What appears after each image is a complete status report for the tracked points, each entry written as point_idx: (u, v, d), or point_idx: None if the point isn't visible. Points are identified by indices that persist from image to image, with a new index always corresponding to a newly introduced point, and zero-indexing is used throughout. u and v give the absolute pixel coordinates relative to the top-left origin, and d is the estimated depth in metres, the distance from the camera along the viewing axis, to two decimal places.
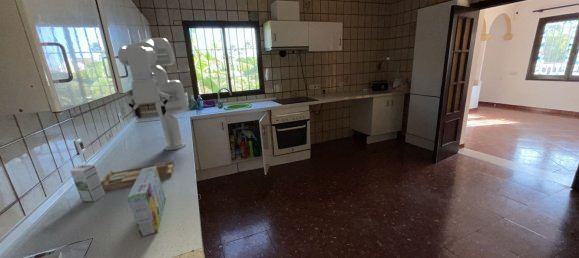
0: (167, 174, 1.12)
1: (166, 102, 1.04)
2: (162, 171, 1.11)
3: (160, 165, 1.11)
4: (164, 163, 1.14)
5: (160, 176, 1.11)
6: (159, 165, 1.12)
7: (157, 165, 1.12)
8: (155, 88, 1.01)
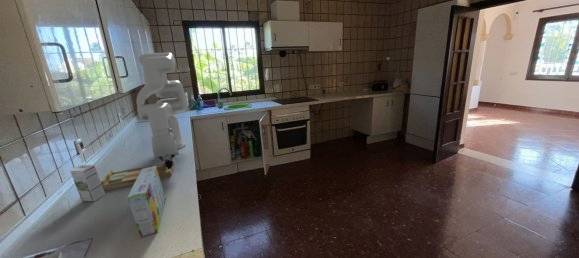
0: (167, 174, 1.12)
1: (173, 157, 1.13)
2: (160, 171, 1.11)
3: (158, 166, 1.11)
4: (162, 163, 1.13)
5: (160, 176, 1.11)
6: (157, 165, 1.12)
7: (155, 165, 1.12)
8: (173, 142, 1.10)
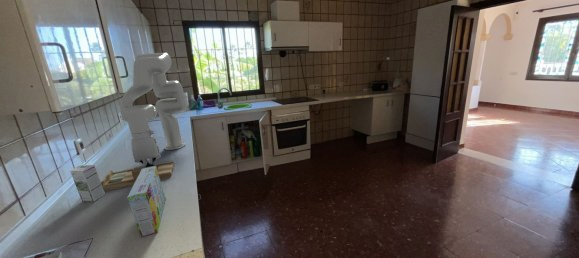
0: (167, 174, 1.12)
1: (154, 160, 1.10)
2: None
3: (138, 170, 1.08)
4: (143, 167, 1.11)
5: (160, 176, 1.11)
6: (138, 169, 1.09)
7: (135, 169, 1.09)
8: (153, 145, 1.07)
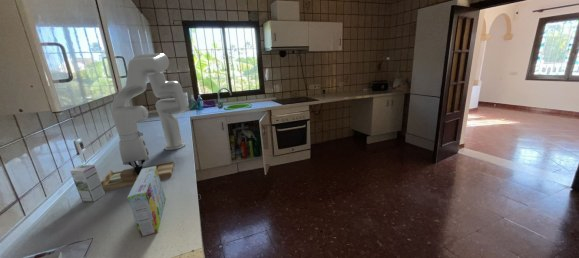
0: (167, 174, 1.12)
1: (143, 162, 1.09)
2: (129, 178, 1.07)
3: (127, 172, 1.07)
4: (132, 169, 1.09)
5: (160, 176, 1.11)
6: (126, 171, 1.08)
7: (124, 171, 1.08)
8: (142, 147, 1.06)
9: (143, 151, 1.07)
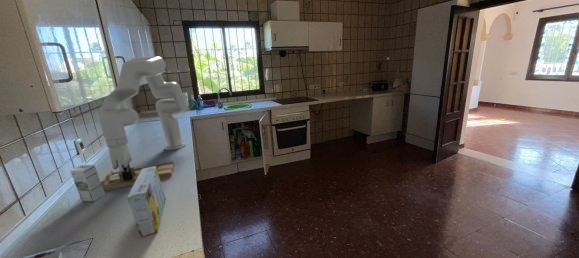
0: (167, 174, 1.12)
1: None
2: None
3: None
4: None
5: (160, 176, 1.11)
6: None
7: None
8: (128, 148, 1.06)
9: None
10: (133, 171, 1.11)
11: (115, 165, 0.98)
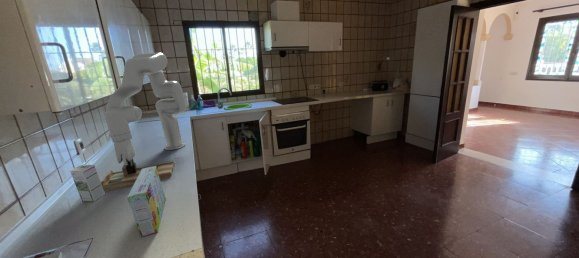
0: (167, 174, 1.12)
1: (132, 160, 1.13)
2: None
3: None
4: None
5: (160, 176, 1.11)
6: None
7: None
8: None
9: (133, 147, 1.13)
10: (135, 166, 1.16)
11: (120, 159, 1.04)
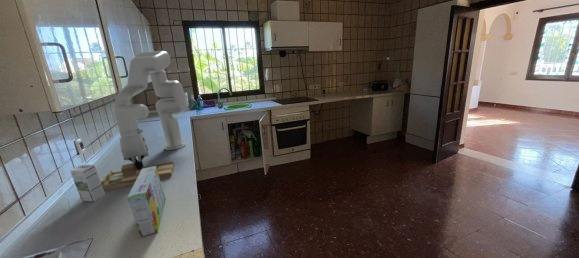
0: (167, 174, 1.12)
1: (142, 158, 1.15)
2: (130, 172, 1.13)
3: (128, 166, 1.13)
4: (132, 164, 1.15)
5: (160, 176, 1.11)
6: (127, 166, 1.14)
7: (124, 166, 1.13)
8: (141, 143, 1.12)
9: (143, 147, 1.12)
10: (134, 166, 1.16)
11: None
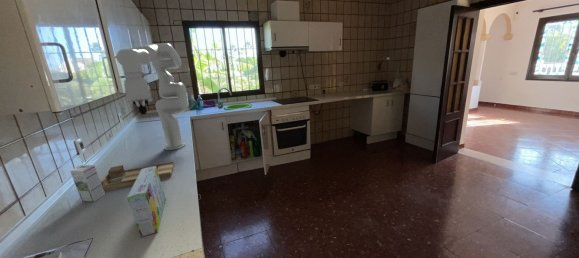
0: (167, 174, 1.12)
1: (146, 102, 1.15)
2: (117, 174, 1.11)
3: (115, 169, 1.11)
4: (120, 166, 1.14)
5: (160, 176, 1.11)
6: (114, 168, 1.12)
7: (112, 169, 1.12)
8: (145, 86, 1.12)
9: (147, 91, 1.13)
10: (122, 168, 1.14)
11: None
